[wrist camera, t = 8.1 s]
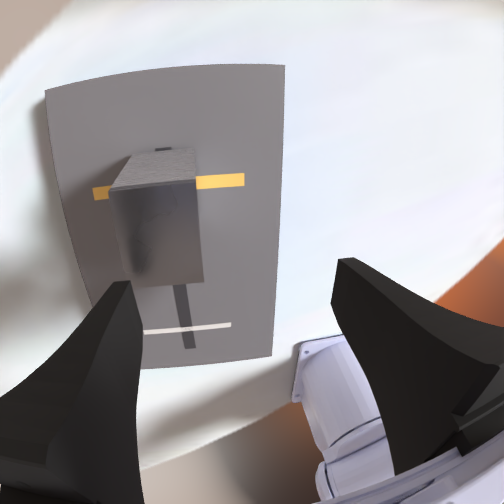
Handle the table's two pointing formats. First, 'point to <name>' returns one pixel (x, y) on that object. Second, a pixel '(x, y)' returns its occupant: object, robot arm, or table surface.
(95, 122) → the fader console
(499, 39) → the table surface
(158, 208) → the fader knob
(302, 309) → the table surface
